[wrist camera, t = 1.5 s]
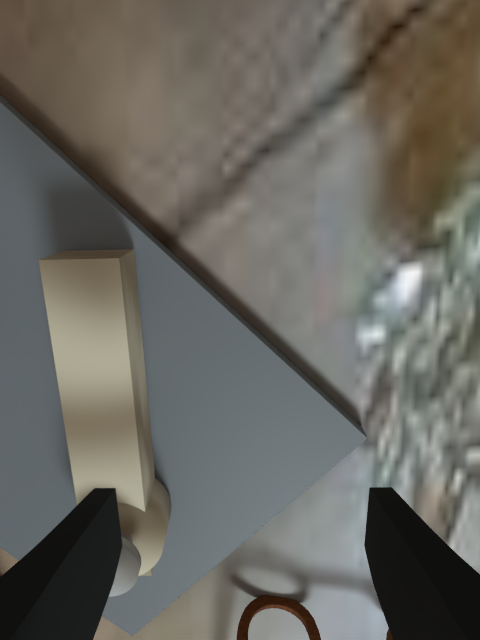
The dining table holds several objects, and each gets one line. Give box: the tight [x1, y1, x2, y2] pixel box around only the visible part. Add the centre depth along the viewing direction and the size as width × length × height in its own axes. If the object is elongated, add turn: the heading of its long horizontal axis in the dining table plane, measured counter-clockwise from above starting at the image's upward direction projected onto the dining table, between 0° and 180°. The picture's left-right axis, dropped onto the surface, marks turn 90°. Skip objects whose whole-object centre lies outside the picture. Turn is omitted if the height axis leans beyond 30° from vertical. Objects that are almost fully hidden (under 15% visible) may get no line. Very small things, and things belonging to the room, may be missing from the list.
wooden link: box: [39, 249, 171, 597], centre depth 19 cm, size 15×4×4 cm, turn 1°
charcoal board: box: [0, 95, 367, 636], centre depth 21 cm, size 18×26×1 cm
